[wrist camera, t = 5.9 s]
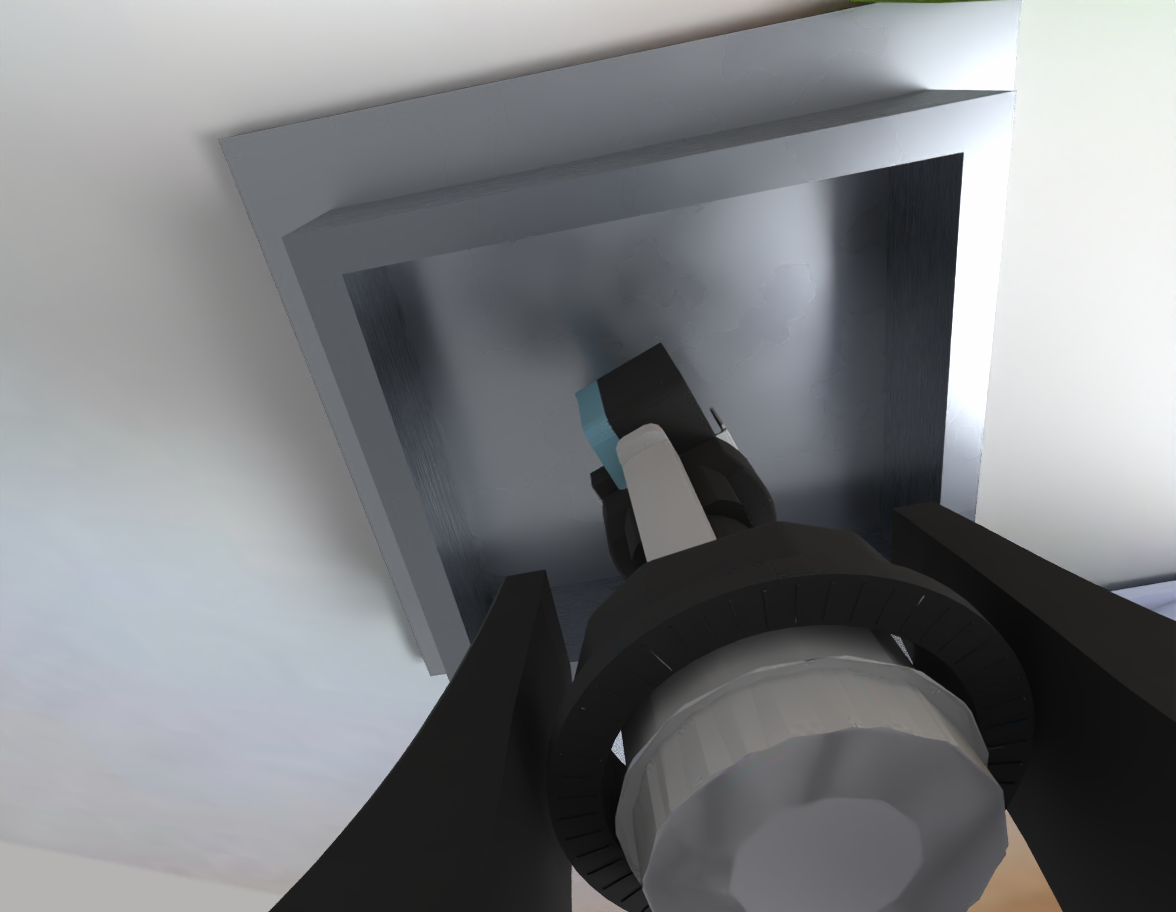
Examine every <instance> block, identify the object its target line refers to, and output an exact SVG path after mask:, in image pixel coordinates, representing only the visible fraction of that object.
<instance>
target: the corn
mask: <svg viewBox="0 0 1176 912" xmlns="http://www.w3.org/2000/svg"><path fill="white" fill-rule="evenodd" d="M849 1H851V2H893V3H951V2H973V1H994V0H849Z"/></svg>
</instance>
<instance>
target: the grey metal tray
mask: <svg viewBox="0 0 1176 912" xmlns="http://www.w3.org/2000/svg"><path fill="white" fill-rule="evenodd" d="M1021 1H1022V0H994V1H973V2H951V3H893V2H878V3H873V4H868V5H863V6H859V7H854V8H849V9H844V10H839V11H835V12H830V13H825V14H820V15H815V16H810V17H806V18H801V19H796V20H791V21H786V22H782V23H777V24H772V25H767V26H762V27H757V28H753V29H748V30H743V31H738V32H733V33H728V34H724V35H719V36H714V37H709V38H704V39H700V40H695V41H690V42H685V43H680V44H675V45H671V46H666V47H661V48H656V49H651V50H647V51H642V52H637V53H632V54H627V55H622V56H618V57H613V58H608V59H603V60H598V61H593V62H589V63H584V64H579V65H574V66H569V67H565V68H560V69H555V70H550V71H545V72H540V73H536V74H531V75H526V76H521V77H516V78H512V79H507V80H502V81H497V82H492V83H487V84H483V85H478V86H473V87H468V88H463V89H458V90H454V91H449V92H444V93H439V94H434V95H430V96H425V97H420V98H415V99H410V100H405V101H401V102H396V103H391V104H386V105H381V106H377V107H372V108H367V109H362V110H357V111H352V112H348V113H343V114H338V115H333V116H328V117H323V118H319V119H314V120H309V121H304V122H299V123H295V124H290V125H285V126H280V127H275V128H270V129H266V130H261V131H256V132H251V133H246V134H242V135H237V136H232V137H227V138H222V139H218V140H219V142H220V145H221V147H222V150H223V152H224V155H225V157H226V160H227V162H228V165H229V167H230V170H231V172H232V175H233V178H234V180H235V183H236V185H237V188H238V190H239V193H240V195H241V198H242V200H243V203H244V205H245V208H246V210H247V213H248V215H249V218H250V221H251V223H252V226H253V228H254V231H255V233H256V236H257V238H258V241H259V243H260V246H261V248H262V251H263V253H264V256H265V259H266V261H267V264H268V266H269V269H270V271H271V274H272V276H273V279H274V281H275V284H276V286H277V289H278V291H279V294H280V297H281V299H282V302H283V304H284V307H285V309H286V312H287V314H288V317H289V319H290V322H291V324H292V327H293V329H294V332H295V335H296V337H297V340H298V342H299V345H300V347H301V350H302V352H303V355H304V357H305V360H306V362H307V365H308V367H309V370H310V373H311V375H312V378H313V380H314V383H315V385H316V388H317V390H318V393H319V395H320V398H321V400H322V403H323V405H324V408H325V411H326V413H327V416H328V418H329V421H330V423H331V426H332V428H333V431H334V433H335V436H336V438H337V441H338V443H339V446H340V449H341V451H342V454H343V456H344V459H345V461H346V464H347V466H348V469H349V471H350V474H351V476H352V479H353V481H354V484H355V486H356V489H357V492H358V494H359V497H360V499H361V502H362V504H363V507H364V509H365V512H366V514H367V517H368V519H369V522H370V524H371V527H372V530H373V532H374V535H375V537H376V540H377V542H378V545H379V547H380V550H381V552H382V555H383V557H384V560H385V562H386V565H387V568H388V570H389V573H390V575H391V578H392V580H393V583H394V585H395V588H396V590H397V593H398V595H399V598H400V600H401V603H402V606H403V608H404V611H405V613H406V616H407V618H408V621H409V623H410V626H411V628H412V631H413V633H414V636H415V638H416V641H417V644H418V646H419V649H420V651H421V654H422V656H423V659H424V661H425V664H426V666H427V669H428V671H429V674H430V676H435V675H441V674H447V676H448V679H449V681H451V679H452V678H453V676H454V674H455V672H456V670H457V669H458V667H459V665H460V663H461V662H462V660H463V658H464V656H465V654H466V653H467V651H468V649H469V647H470V645H471V644H472V642H473V640H474V638H475V636H476V634H477V632H478V630H479V628H480V626H481V624H482V623H483V621H484V619H485V617H486V615H487V613H488V611H489V608H490V606H491V604H492V602H493V600H494V598H495V596H496V594H497V592H498V590H499V587H500V585H501V583H502V582H503V581H504V579H505V578H506V577H507V576H510V575H516V574H522V573H527V572H533V571H539V570H546V573H547V577H548V581H549V585H550V589H551V592H552V596H553V600H554V604H555V608H556V612H557V615H558V619H559V623H560V627H561V631H562V634H563V638H564V642H565V646H566V650H567V653H568V657H569V661H570V665H571V673H572V682H573V681H574V677H575V673H576V669H577V665H578V661H579V656H580V652H581V648H582V644H583V640H584V636H585V632H586V627H587V623H588V620H589V618H590V617H591V615H592V614H593V612H594V611H595V610H596V609H597V608H598V607H599V606H600V605H601V604H602V603H603V602H604V601H605V600H606V599H607V598H608V597H609V596H610V595H611V594H613V593H614V592H615V591H616V590H617V589H618V588H619V587H620V586H621V585H622V584H623V583H624V582H625V580H624V578H623V577H622V576H621V574H620V573H619V572H618V570H617V569H616V567H615V565H614V563H613V561H612V558H611V555H610V552H609V548H608V542H607V537H606V531H605V525H604V519H603V513H602V508H603V506H602V505H601V503H600V502H599V500H598V498H599V497H598V495H597V494H596V492H595V491H594V489H593V488H592V485H591V478H590V473H591V472H593V471H595V470H597V469H598V468H600V467H602V466H604V465H603V464H602V462H601V461H600V459H599V458H598V456H597V454H596V453H595V451H594V450H593V448H592V447H591V445H590V443H589V442H588V440H587V438H586V436H585V434H584V432H583V429H582V424H581V418H580V412H579V405H578V401H577V399H576V396H575V393H576V392H577V391H579V390H581V389H582V388H584V387H586V386H588V385H589V384H591V383H593V382H594V381H596V380H597V379H599V378H600V377H602V376H604V375H605V374H607V373H609V372H611V371H612V370H614V369H616V368H617V367H619V366H621V365H622V364H624V363H626V362H628V361H629V360H631V359H633V358H634V357H636V356H638V355H639V354H641V353H643V352H645V351H646V350H648V349H650V348H651V347H653V346H655V345H657V344H658V343H662V344H663V346H664V348H665V349H666V351H667V352H668V354H669V356H670V357H671V359H672V360H673V362H674V363H675V365H676V367H677V368H678V370H679V371H680V373H681V375H682V376H683V378H684V380H685V381H686V383H687V385H688V387H689V388H690V390H691V392H692V394H693V396H694V397H695V399H696V401H697V403H698V405H699V406H700V408H701V410H702V412H703V413H704V415H705V417H706V419H707V421H708V422H709V424H710V426H711V428H712V429H713V431H714V433H715V434H717V433H719V432H721V429H720V427H719V426H718V424H717V422H716V420H715V418H714V417H713V415H712V413H711V411H710V409H709V408H711V407H713V408H714V410H715V411H716V413H717V414H718V416H719V417H720V419H721V420H722V422H723V423H724V425H725V427H726V428H727V430H728V431H729V433H730V435H731V437H732V439H733V441H734V442H735V444H736V446H737V448H738V450H739V451H740V452H741V453H742V454H743V455H744V456H745V457H746V458H747V460H748V461H749V463H750V464H751V466H752V467H753V469H754V470H755V472H756V473H757V475H758V476H759V478H760V479H761V481H762V482H763V483H764V485H765V487H766V488H767V490H768V491H769V493H770V495H771V497H772V500H773V502H774V505H775V509H776V513H777V521H786V522H792V523H799V524H806V525H812V526H819V527H826V528H832V529H839V530H846V531H850V532H853V533H855V534H857V535H859V536H860V537H861V538H863V539H864V540H865V541H866V542H867V543H868V544H869V545H871V546H872V547H873V548H874V549H875V550H876V551H877V552H879V553H880V554H881V555H882V556H883V557H884V558H886V559H887V560H888V561H889V562H890V563H891V534H892V509H893V508H899V507H904V506H910V505H916V504H921V503H927V502H936V503H938V504H940V505H942V506H944V507H946V508H948V509H950V510H952V511H954V512H956V513H958V514H960V515H962V516H964V517H966V518H967V519H969V520H971V521H973V522H975V514H976V504H977V493H978V483H979V472H980V462H981V452H982V441H983V431H984V420H985V410H986V400H987V389H988V379H989V369H990V358H991V348H992V337H993V327H994V317H995V306H996V296H997V285H998V275H999V265H1000V254H1001V244H1002V233H1003V223H1004V213H1005V202H1006V192H1007V182H1008V171H1009V161H1010V150H1011V140H1012V130H1013V119H1014V109H1015V98H1016V91H1015V90H1013V86H1014V75H1015V64H1016V54H1017V43H1018V33H1019V22H1020V11H1021Z"/></svg>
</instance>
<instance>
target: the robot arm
mask: <svg viewBox="0 0 1176 912" xmlns="http://www.w3.org/2000/svg"><path fill="white" fill-rule="evenodd" d="M891 564H895V565H898V566H902V567H906V568H908V569H911V570H913V571H916V572H918V573H921V574H923V575H926V576H928V577H930V578H932V579H934V580H936V581H938V582H939V583H941V584H943V585H945V586H947V587H949V588H950V589H951V590H953V591H954V592H956V593H957V594H958V595H960V596H961V597H963V598H964V599H965V600H967V601H968V602H969V603H970V604H971V605H972V606H973V607H974V608H975V609H976V610H977V611H978V612H979V613H980V614H981V615H982V616H983V617H984V618H985V619H986V620H987V621H988V622H989V623H990V624H991V625H992V626H993V627H994V628H995V629H996V630H997V632H998V633H999V634H1000V635H1001V636H1002V637H1003V638H1004V640H1005V641H1006V642H1007V643H1008V645H1009V646H1010V647H1011V649H1012V650H1013V651H1014V653H1015V655H1016V656H1017V658H1018V660H1019V662H1020V664H1021V665H1022V667H1023V669H1024V672H1025V674H1026V677H1027V680H1028V683H1029V685H1030V689H1031V694H1032V699H1033V704H1034V719H1035V728H1034V738H1033V746H1032V750H1031V754H1030V758H1029V762H1028V765H1027V768H1026V771H1025V773H1024V776H1023V779H1022V781H1021V783H1020V785H1019V787H1018V789H1017V791H1016V793H1015V795H1014V797H1013V799H1012V801H1011V802H1010V804H1009V805H1008V807H1007V808H1006V809H1007V811H1008V812H1009V814H1010V816H1011V817H1012V819H1013V821H1014V822H1015V824H1016V826H1017V827H1018V829H1019V831H1020V832H1021V834H1022V836H1023V837H1024V839H1025V841H1026V843H1027V844H1028V846H1029V848H1030V850H1031V852H1032V854H1033V856H1034V858H1035V860H1036V861H1037V863H1038V865H1039V867H1040V869H1041V871H1042V873H1043V875H1044V877H1045V878H1046V880H1047V882H1048V884H1049V886H1050V888H1051V890H1052V892H1053V894H1054V896H1055V897H1056V899H1057V901H1058V903H1059V905H1060V907H1061V909H1062V911H1063V912H1176V580H1175V581H1169V582H1163V583H1157V584H1151V585H1145V586H1139V587H1133V588H1127V589H1121V590H1115V591H1108V590H1106V589H1104V588H1102V587H1100V586H1098V585H1096V584H1094V583H1091V582H1089V581H1087V580H1085V579H1083V578H1081V577H1079V576H1077V575H1075V574H1073V573H1071V572H1069V571H1067V570H1065V569H1063V568H1061V567H1059V566H1057V565H1055V564H1053V563H1051V562H1049V561H1047V560H1045V559H1043V558H1041V557H1039V556H1037V555H1036V554H1034V553H1032V552H1030V551H1028V550H1026V549H1024V548H1022V547H1020V546H1018V545H1016V544H1015V543H1013V542H1011V541H1009V540H1007V539H1005V538H1003V537H1001V536H1000V535H998V534H996V533H994V532H992V531H990V530H988V529H986V528H984V527H983V526H981V525H979V524H977V523H975V522H973V521H971V520H969V519H967V518H966V517H964V516H962V515H960V514H958V513H956V512H954V511H952V510H950V509H948V508H946V507H944V506H942V505H940V504H938V503H936V502H927V503H921V504H916V505H910V506H904V507H899V508H893V509H892V534H891ZM901 639H902V641H903V644H904V646H905V648H906V650H907V652H908V654H909V656H910V658H911V660H912V662H913V642H911V641H909V640H907V639H904V638H901ZM571 684H572V673H571V665H570V661H569V657H568V653H567V650H566V646H565V642H564V638H563V634H562V631H561V627H560V623H559V619H558V615H557V612H556V608H555V604H554V600H553V596H552V592H551V589H550V585H549V581H548V577H547V573H546V570H539V571H533V572H527V573H522V574H516V575H510V576H507V577H506V578H505V579H504V581H503V582H502V583H501V585H500V587H499V590H498V592H497V594H496V596H495V598H494V600H493V602H492V604H491V606H490V608H489V611H488V613H487V615H486V617H485V619H484V621H483V623H482V624H481V626H480V628H479V630H478V632H477V634H476V636H475V638H474V640H473V642H472V644H471V645H470V647H469V649H468V651H467V653H466V654H465V656H464V658H463V660H462V662H461V663H460V665H459V667H458V669H457V670H456V672H455V674H454V676H453V678H452V679H451V681H450V683H449V684H448V686H447V688H446V689H445V691H444V693H443V694H442V696H441V697H440V699H439V700H438V702H437V704H436V705H435V707H434V708H433V710H432V711H431V713H430V715H429V716H428V718H427V719H426V721H425V722H424V724H423V726H422V727H421V729H420V730H419V732H418V733H417V735H416V736H415V738H414V739H413V741H412V742H411V744H410V745H409V746H408V748H407V749H406V751H405V752H404V754H403V755H402V756H401V758H400V759H399V761H398V762H397V763H396V765H395V766H394V767H393V769H392V770H391V771H390V773H389V774H388V775H387V777H386V778H385V779H384V781H383V782H382V783H381V785H380V786H379V787H378V789H377V790H376V791H375V792H374V794H373V795H372V796H371V798H370V799H369V800H368V801H367V802H366V804H365V805H364V806H363V807H362V809H361V810H360V811H359V812H358V813H357V815H356V816H355V817H354V818H353V819H352V821H351V822H350V823H349V824H348V825H347V827H346V828H345V829H344V830H343V831H342V833H341V834H340V835H339V836H338V837H337V838H336V840H335V841H334V842H333V843H332V844H331V845H330V847H329V848H328V849H327V850H326V851H325V852H324V853H323V855H322V856H321V857H320V858H319V859H318V860H317V862H316V863H315V864H314V865H313V866H312V867H311V868H310V869H309V870H308V871H307V872H306V874H305V875H304V876H303V877H302V878H301V879H300V880H299V881H298V882H297V883H296V884H295V885H294V886H293V887H292V888H291V889H290V890H289V891H288V892H287V893H286V894H285V895H284V896H283V897H282V898H281V899H280V901H279V902H278V903H277V904H276V905H275V906H274V907H273V908H272V909H271V910H270V911H269V912H572V898H571V870H572V864H571V863H570V861H569V860H568V859H567V857H566V855H565V853H564V851H563V850H562V848H561V846H560V844H559V842H558V839H557V837H556V834H555V832H554V829H553V826H552V822H551V817H550V813H549V808H548V793H547V756H548V744H549V740H550V735H551V731H552V726H553V723H554V720H555V718H556V715H557V712H558V710H559V707H560V704H561V703H562V701H563V699H564V697H565V695H566V693H567V691H568V689H569V687H570V685H571Z"/></svg>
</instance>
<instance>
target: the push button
mask: <svg viewBox="0 0 1176 912" xmlns="http://www.w3.org/2000/svg"><path fill="white" fill-rule="evenodd" d="M575 396H576V399H577V401H578V405H579V412H580V418H581V424H582V429H583V432H584V434H585V436H586V438H587V440H588V442H589V443H590V445H591V447H592V448H593V450H594V451H595V453H596V454H597V456H598V458H599V459H600V461H601V462H602V464H603V465H604V466H602V467H600V468H598V469H597V470H595V471H593V472H591V473H590V478H591V485H592V488H593V489H594V491H595V492H596V494H597V495H598V497H599V498H598V500H599V502H600V503H601V505H602V506H603V508H602V513H603V519H604V525H605V531H606V537H607V542H608V548H609V552H610V555H611V558H612V561H613V563H614V565H615V567H616V569H617V570H618V572H619V573H620V574H621V576H622V577H623V578H624V580H625V582H624V583H623V584H622V585H621V586H620V587H619V588H618V589H617V590H616V591H615V592H614V593H613V594H611V595H610V596H609V597H608V598H607V599H606V600H605V601H604V602H603V603H602V604H601V605H600V606H599V607H598V608H597V609H596V610H595V611H594V612H593V614H592V615H591V617H590V618H589V620H588V623H587V627H586V632H585V636H584V640H583V644H582V648H581V652H580V656H579V661H578V665H577V669H576V673H575V677H574V681H573V682H572V684H571V685H570V687H569V689H568V691H567V693H566V695H565V697H564V699H563V701H562V703H561V704H560V707H559V710H558V712H557V715H556V718H555V720H554V723H553V726H552V731H551V735H550V740H549V744H548V756H547V793H548V808H549V813H550V817H551V822H552V826H553V829H554V832H555V834H556V837H557V839H558V842H559V844H560V846H561V848H562V850H563V851H564V853H565V855H566V857H567V859H568V860H569V861H570V863H571V864H572V865H573V867H574V868H575V869H576V871H577V872H578V873H579V874H580V875H581V876H582V877H583V878H584V879H585V880H586V881H587V883H588V884H589V885H590V886H591V887H593V888H594V889H595V890H596V891H598V892H599V893H600V894H601V895H603V896H604V897H605V898H606V899H608V900H610V901H611V902H613V903H614V904H616V905H618V906H619V907H621V908H622V909H624V910H626V911H628V912H966V911H967V910H968V908H970V907H971V906H972V905H973V904H975V903H976V902H977V901H978V900H979V899H980V897H981V896H982V894H983V892H984V890H985V888H986V886H987V884H988V882H989V881H990V879H991V877H992V875H993V873H994V871H995V870H996V868H997V867H998V865H999V864H1000V862H1001V861H1002V859H1003V858H1004V857H1005V855H1006V849H1007V847H1008V835H1007V825H1006V815H1005V810H1006V808H1007V807H1008V805H1009V804H1010V802H1011V801H1012V799H1013V797H1014V795H1015V793H1016V791H1017V789H1018V787H1019V785H1020V783H1021V781H1022V779H1023V776H1024V773H1025V771H1026V768H1027V765H1028V762H1029V758H1030V754H1031V750H1032V746H1033V738H1034V728H1035V719H1034V704H1033V699H1032V694H1031V689H1030V685H1029V683H1028V680H1027V677H1026V674H1025V672H1024V669H1023V667H1022V665H1021V664H1020V662H1019V660H1018V658H1017V656H1016V655H1015V653H1014V651H1013V650H1012V649H1011V647H1010V646H1009V645H1008V643H1007V642H1006V641H1005V640H1004V638H1003V637H1002V636H1001V635H1000V634H999V633H998V632H997V630H996V629H995V628H994V627H993V626H992V625H991V624H990V623H989V622H988V621H987V620H986V619H985V618H984V617H983V616H982V615H981V614H980V613H979V612H978V611H977V610H976V609H975V608H974V607H973V606H972V605H971V604H970V603H969V602H968V601H967V600H965V599H964V598H963V597H961V596H960V595H958V594H957V593H956V592H954V591H953V590H951V589H950V588H949V587H947V586H945V585H943V584H941V583H939V582H938V581H936V580H934V579H932V578H930V577H928V576H926V575H923V574H921V573H918V572H916V571H913V570H911V569H908V568H906V567H902V566H898V565H895V564H891V563H890V562H889V561H888V560H887V559H886V558H884V557H883V556H882V555H881V554H880V553H879V552H877V551H876V550H875V549H874V548H873V547H872V546H871V545H869V544H868V543H867V542H866V541H865V540H864V539H863V538H861V537H860V536H859V535H857V534H855V533H853V532H850V531H846V530H839V529H832V528H826V527H819V526H812V525H806V524H799V523H792V522H786V521H777V513H776V509H775V505H774V502H773V500H772V497H771V495H770V493H769V491H768V490H767V488H766V487H765V485H764V483H763V482H762V481H761V479H760V478H759V476H758V475H757V473H756V472H755V470H754V469H753V467H752V466H751V464H750V463H749V461H748V460H747V458H746V457H745V456H744V455H743V454H742V453H741V452H740V451H739V450H738V448H737V446H736V444H735V442H734V441H733V439H732V437H731V435H730V433H729V431H728V430H727V428H726V427H725V425H724V423H723V422H722V420H721V419H720V417H719V416H718V414H717V413H716V411H715V410H714V408H713V407H711V408H709V409H710V411H711V413H712V415H713V417H714V418H715V420H716V422H717V424H718V426H719V427H720V429H721V432H719V433H717V434H715V433H714V431H713V429H712V428H711V426H710V424H709V422H708V421H707V419H706V417H705V415H704V413H703V412H702V410H701V408H700V406H699V405H698V403H697V401H696V399H695V397H694V396H693V394H692V392H691V390H690V388H689V387H688V385H687V383H686V381H685V380H684V378H683V376H682V375H681V373H680V371H679V370H678V368H677V367H676V365H675V363H674V362H673V360H672V359H671V357H670V356H669V354H668V352H667V351H666V349H665V348H664V346H663V344H662V343H658V344H657V345H655V346H653V347H651V348H650V349H648V350H646V351H645V352H643V353H641V354H639V355H638V356H636V357H634V358H633V359H631V360H629V361H628V362H626V363H624V364H622V365H621V366H619V367H617V368H616V369H614V370H612V371H611V372H609V373H607V374H605V375H604V376H602V377H600V378H599V379H597V380H596V381H594V382H593V383H591V384H589V385H588V386H586V387H584V388H582V389H581V390H579V391H577V392H576V393H575ZM890 634H893V635H896V636H898V637H901V638H904V639H907V640H909V641H911V642H913V665H912V664H911V662H910V661H909V659H908V658H907V657H906V655H905V654H904V653H903V651H902V650H901V648H900V647H899V646H898V644H897V643H896V641H895V640H894V639H893V637H892V636H891V635H890ZM620 731H621V732H622V740H623V747H624V754H625V761H626V766H625V765H624V764H623V763H622V762H621V761H620V760H619V759H618V758H617V757H616V755H615V754H614V753H613V752H612V750H611V748H612V746H613V743H614V741H615V739H616V737H617V736H618V734H619V732H620Z"/></svg>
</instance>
